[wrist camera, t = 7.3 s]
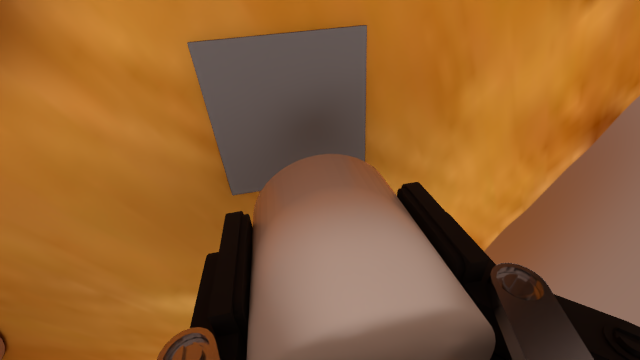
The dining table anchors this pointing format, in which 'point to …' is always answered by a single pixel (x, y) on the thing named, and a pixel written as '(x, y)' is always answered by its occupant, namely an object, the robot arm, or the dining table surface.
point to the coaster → (283, 99)
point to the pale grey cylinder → (351, 274)
